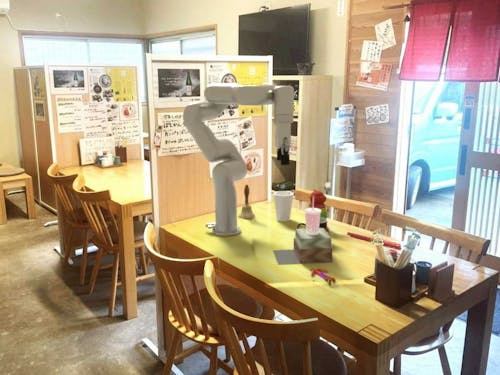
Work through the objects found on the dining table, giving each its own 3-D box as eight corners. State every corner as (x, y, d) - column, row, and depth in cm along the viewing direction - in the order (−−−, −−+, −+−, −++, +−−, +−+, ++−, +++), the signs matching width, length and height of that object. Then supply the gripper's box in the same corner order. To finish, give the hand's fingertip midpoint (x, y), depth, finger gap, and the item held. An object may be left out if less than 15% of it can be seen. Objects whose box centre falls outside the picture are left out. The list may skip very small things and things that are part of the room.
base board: (278, 267, 163) (278, 264, 163) (272, 253, 176) (272, 250, 176) (332, 265, 165) (332, 262, 164) (322, 251, 178) (323, 248, 178)
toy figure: (318, 270, 161) (318, 263, 161) (341, 283, 152) (341, 275, 151) (300, 275, 157) (300, 268, 157) (322, 288, 147) (323, 281, 147)
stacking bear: (329, 232, 199) (331, 193, 195) (306, 232, 200) (307, 193, 195) (326, 225, 210) (327, 187, 206) (304, 224, 210) (305, 187, 206)
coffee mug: (327, 240, 190) (328, 217, 187) (324, 247, 182) (325, 224, 180) (300, 237, 193) (301, 215, 191) (296, 244, 186) (296, 221, 183)
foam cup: (293, 222, 213) (293, 196, 210) (273, 222, 213) (274, 196, 210) (291, 216, 223) (292, 191, 219) (273, 216, 223) (273, 191, 220)
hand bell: (236, 214, 226) (236, 183, 222) (252, 213, 228) (252, 182, 224) (240, 219, 218) (240, 187, 215) (257, 218, 220) (257, 186, 217)
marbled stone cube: (299, 262, 164) (300, 239, 162) (293, 250, 176) (294, 228, 174) (331, 261, 165) (332, 238, 163) (323, 249, 177) (324, 227, 175)
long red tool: (397, 253, 179) (402, 246, 182) (396, 248, 178) (402, 242, 181) (344, 239, 195) (349, 233, 198) (343, 235, 194) (349, 229, 197)
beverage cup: (312, 236, 165) (313, 199, 161) (300, 232, 169) (301, 196, 166) (324, 233, 168) (325, 197, 165) (312, 229, 173) (313, 193, 170)
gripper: (270, 116, 181) (270, 158, 185) (277, 120, 165) (276, 166, 169) (289, 116, 182) (288, 158, 186) (297, 120, 165) (296, 166, 169)
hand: (282, 162), depth 177 cm, fingers open, 9 cm apart
